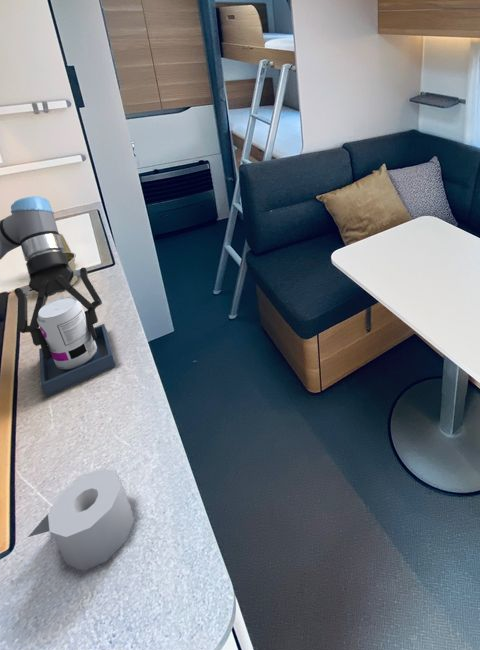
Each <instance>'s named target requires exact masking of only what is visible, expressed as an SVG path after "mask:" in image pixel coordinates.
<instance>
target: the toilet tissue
mask: <svg viewBox="0 0 480 650" xmlns="http://www.w3.org/2000/svg"><path fill="white" fill-rule="evenodd" d="M123 485H124V484H123V483H122V481H121V478H120V475H119V472H118V471H115V470H111V469H107V468H104V467H101V468H98V469H95V470H92V471H89V472H86V473H83V474H81V475H79V476H78V477H77V478H76V479H75V480H74V481H72V482H71V483H69V484H68V485H67V486H66V487H65V488H64V489H63V490H62V491H60V492H59V494H58V496H57V497H56V499H55V501H54V502H53V504H52V506H51V508H50V509H49V511H48V512H47V514H46V515H45V516H44V518H43V519H42V520H41V521H40V522H39V523H38V524H37V526H36V527H35V528H34V529H33V530H32V532H31V533H29V535H28V536H27V537H28V538H29V537H34V536H37V535H41V534H44V533H48V532H49V533H50V535H51V537H52V539H53V541H54V543H55V544H56V546H57V548H58V550H59V552H60V553H61V556H62V557H63V559H64V561H65V563H66V565H67V566H68V567H72V568H74V569H77V570H80V571H83V572H84V571H85V572H86V571H87V570H89V569H92V568H94V567H97V566H98V565H101V564H103V563H106V562H107V561H108V560H109V559H110V558H111V557H112V556H113V555H114V554H115V553H116V552H117V551H118V550H119V549H120V548H121V547H122V546H123V545H124V544H125V543H126V542H127V539H128V537H129V534H130V532H131V530H132V527H133V525H134V522H135V517H134V513H133V510H132V506H131V503H130V501H129V498H128V496H127V492H126V490H125V488H124V486H123Z"/></svg>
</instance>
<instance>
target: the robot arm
mask: <svg viewBox="0 0 480 650" xmlns="http://www.w3.org/2000/svg"><path fill="white" fill-rule="evenodd" d="M59 234H60V233H59V230H58V226H57V222H56V218H55V212H54V211H53V208H52V206H51V204H50V201H49V200H48V199H47V198H45V197H42V196H37V195H36V196H35V195H34V196H33V195H31V196H25V197H22V198H19V199H17V200H15V201H14V202H13V203H12V204H10V215H8V216H6V217H4V218H3V219H1V220H0V261H1V260H2V259H3V258H4V257H5V256H6V255H7V254H8V253H9V252H12V250H15V249H17V248H19V247H20V248H21V251H22V254H23V258H24V260H25V262H26V263H25V266H26V269H27V274H28V276H29V282H28V284H27V285H24V286H23V287H21V288H20V287H16V288H15V289H14V290H13V291H14V292H13V293H14V294H15V296H16V298H17V331H18V332H20V333H21V334H25V333H27V334H28V333H30V336H31V339H32V343H33V345H34V346H35V347H38V346H40V348H41V349H42V352H43V356H44V358H46V359H47V358H50V353H49V349H48V345H47V343H46V341H45V338H44V336H43V334H42V331H41V329H40V327H39V324H38V322H37V318H38V315H39V314H38V312H39V310H40V309H41V308H42V307H43V306H44V305H46V304H47V300H48V298H49V297H52V296H54V295H56V294H60V293H64V292H65V291H66V292H67V293H68V294H70V295H71V297H73V298H75V299H76V300H77V301H79V302H81V305H82V307H84V308H85V309H86V310H84V313H85V316H86V319H87V323H88V326H89V329H90V333H91V336H92V339H93V340H94V339H97V336H96V333H95V329H94V327H95V324H97V323H98V322H99V320H98V316H97V313H96V308H98V307H99V306H101V305H102V304H103V301H102V299H101V297H100V296H99V294H98V293H97V290H96V289H95V288H94V286H93V284H92V282H91V281H90V279H89V276H88V269H87V268H86V267H81V268H79V269H76V270H75V271H73V270H71V269H70V267H69V264H68V261H67V258H66V254H65V253H63V251H64V248H63V244H62V241H61V238H60V235H59ZM73 276H77V279H79V280H80V279H81V281H82V283H83V284H84V285H83V286H84V287H85V288H86V291H88V293H89V295H90V296H91V298H92V299H93V301H92V302H90V301H89V300H88V299H87V298H86V297H84V295H82V294H81V292H79V291H78V290H76V289H75V288H74V287H73V285H70V282H71V280H72V278H73ZM31 290H33V291H34V292H36V293H37V295H36V301H35V305H34V309H33V312H32V316H31V320H30V322H29V321H28V319H29V318H28V317H29V316H28V296H29V295H30V291H31ZM28 322H29V323H30V324H29V323H28Z"/></svg>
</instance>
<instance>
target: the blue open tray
mask: <svg viewBox="0 0 480 650" xmlns="http://www.w3.org/2000/svg"><path fill="white" fill-rule="evenodd" d="M94 329H95V333H96V336H97V339H94V340H95V343H96V345H97V350H96V353H95V354H94V355H93V357H92V358H91V359H90V360H89V361H88V362H86V363H85V364H83V365H81V366H79V367H76V368H73V369H60V368H58V367H56V364H55V362H54V359H53V357H52V355H51V352H50V350H49V353H50V358H47V359H46V358H44V356H43V352H42V349H41V347H40V348H38V354H39V378H40V379H39V381H40V387H41V389H42V392H43V394H44V396H45V398H48V397H51V396H53V395H55V394H57V393H59V392H61V391H64V390H66V389H68V388H71V387H72V386H75V385H77V384H79V383H82V382H84V381H87V380H89V379H91V378H93V377H95V376H97V375H99V374H102V373H104V372H106V371H108V370H111V369H113V368H115V367H117V364H116V360H115V357H114V352H113V349H112V346H111V342H110V338H109V333H108V331H107V328H106V325H105V323H102V324H99V325H96V326H94ZM48 349H49V348H48Z"/></svg>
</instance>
